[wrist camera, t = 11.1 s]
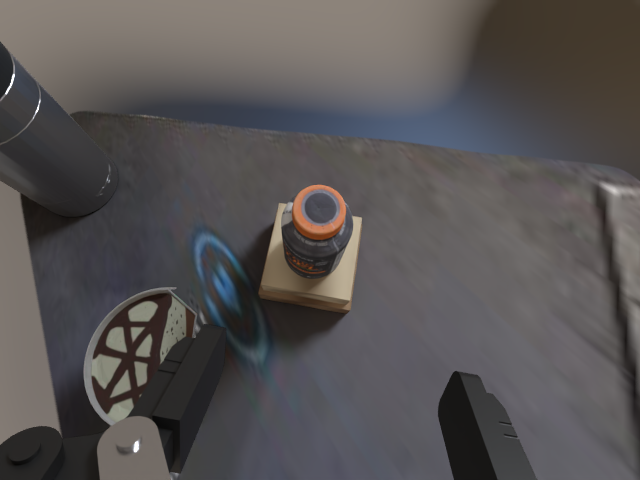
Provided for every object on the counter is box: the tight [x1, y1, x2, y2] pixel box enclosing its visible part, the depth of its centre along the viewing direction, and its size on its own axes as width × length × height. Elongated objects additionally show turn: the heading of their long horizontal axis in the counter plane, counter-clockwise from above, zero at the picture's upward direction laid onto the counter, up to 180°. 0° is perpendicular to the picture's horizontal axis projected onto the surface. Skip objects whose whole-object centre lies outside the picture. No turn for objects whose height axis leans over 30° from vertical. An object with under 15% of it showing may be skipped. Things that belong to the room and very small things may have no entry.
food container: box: [84, 287, 197, 426], centre depth 33 cm, size 12×6×10 cm, turn 178°
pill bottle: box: [281, 185, 353, 279], centre depth 31 cm, size 6×6×11 cm
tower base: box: [258, 203, 362, 314], centre depth 39 cm, size 10×10×6 cm
